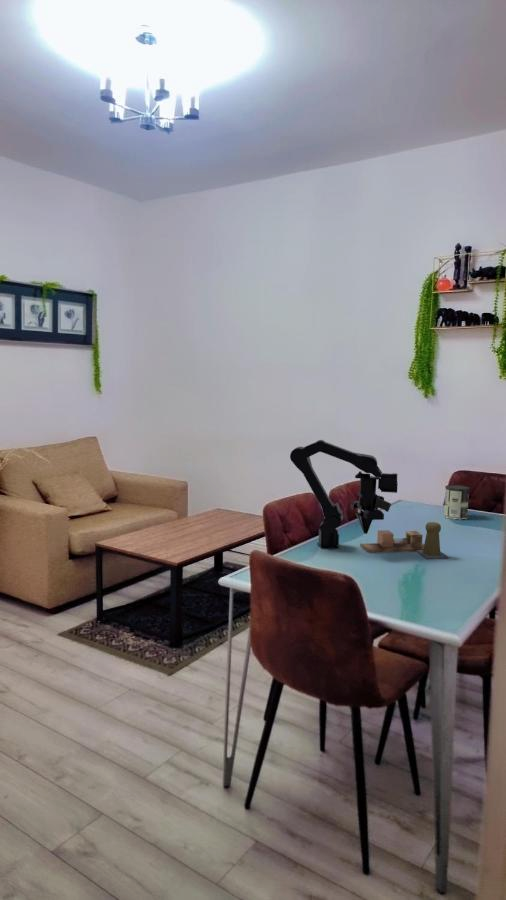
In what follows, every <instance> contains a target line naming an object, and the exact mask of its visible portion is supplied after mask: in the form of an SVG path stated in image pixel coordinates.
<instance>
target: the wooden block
mask: <svg viewBox="0 0 506 900" xmlns="http://www.w3.org/2000/svg"><path fill="white" fill-rule="evenodd" d="M394 535H395V534H394V533H393V532H391V531H390V530H389V529H388V530H381V529H380V530H377V539H376V540H377V541H376V543H377V544H378V545H380V546H381V547H382V548H388V547H393V545H407V538H406V537H402V538H401V537H400V538H399V537H394Z"/></svg>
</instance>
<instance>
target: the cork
mask: <svg viewBox="0 0 506 900" xmlns="http://www.w3.org/2000/svg"><path fill="white" fill-rule="evenodd" d="M441 530H442V526H441V524H440V523H439V522H435V521H430V522H429V521H428V522H427V523H426V524H425V531H426V535H425V538H424V539H425V540H424V543H423V544H424V549H423V553H424V554H426V555H431V556H438V555H440V551H441V542H440V540H441V539H440V532H441Z"/></svg>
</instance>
